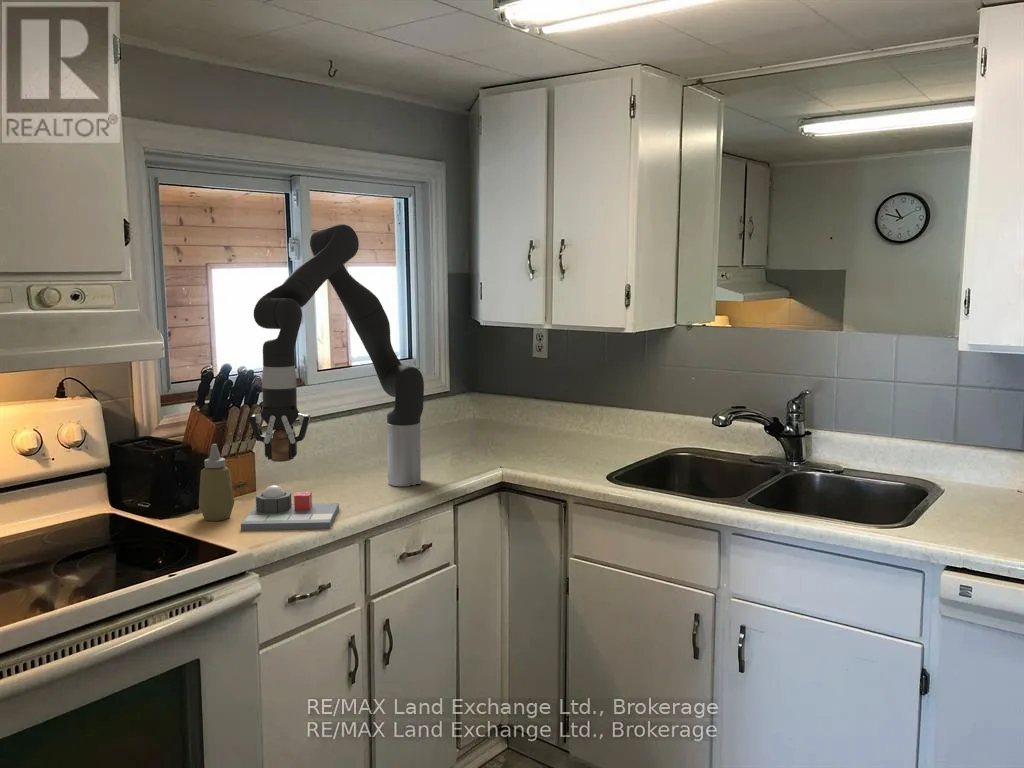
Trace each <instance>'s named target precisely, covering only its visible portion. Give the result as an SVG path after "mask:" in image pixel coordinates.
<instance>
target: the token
mask: <svg viewBox="0 0 1024 768" xmlns="http://www.w3.org/2000/svg"><path fill="white" fill-rule="evenodd" d="M289 444H290V440H289V437H288V435H287V433H286V430H282V429H277V430H274V433H273V436H272V438H271V462H275V463H279V462H280V463H282V462H289V461H291V460H292V459H290V451H289Z"/></svg>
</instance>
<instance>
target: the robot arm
mask: <svg viewBox="0 0 1024 768" xmlns="http://www.w3.org/2000/svg"><path fill="white" fill-rule="evenodd" d="M359 241H360V240H359V238H358V235H357V233H356V231H355V229H353V227H351V226H350V225H348V224H344V223H341V224H335V225H331V226H328V227H325V228H322V229H318V230H316V231H314V232H313V233H311V235H310V237H309V247H310V250H311V253H312V255H313V257H311V258H309V259H308V260H307V261H305V262H304V263H302V264H301V265H299V266H298V267H297V268H296V269H294V270H293V272H291V273H290V275H289V276H288V277H287V278H286V279H285V280H284V282H283V283H282V284H280V285H279V286H277V287H275V288H274V289H272V290H270V291H269V292H267V293H266V294H265V293H264V295H263V296H261V297H260V298H259V300H258V301H257V302H256V304H255V305H254V309H253V319H254V321H255V324H256V325H258V327H261V328H262V329H268V330H279V333H278V336H277V337H276V338H274V339H268V340H266V341H264V342H263V345H262V373H261V374H262V375H261V378H262V380H261V386H262V387H261V388H262V392H261V393H262V410H261V411H260V413H257V414H252V415H250V416H249V423H250V425H251V429H252V432H253V434H254V437H255V440H256V441H258V442H260V443H263V444H264V456H265V458H267V460H271V438H273V433H274V431H275V430H277V429H282V430H286V433H287V435H288V437H289V440H290V444H289V451H290V459H291V460H294V459H295V457H296V456H297V455H298V445H297V444H298V442H302V441H303V440H304V439H305V437H306V434H307V431H308V428H309V427H308V426H309V424H310V422H311V421H310V420H311V416H312V415H311V414H304V413H300V411H299V410H298V406H297V405H298V400H297V396H298V395H297V391H298V390H297V371H296V362H295V361H296V355H295V353H296V351H295V350H296V343H297V341H298V340H297V339H298V335H299V331H300V327H301V325H302V320H303V313H302V312H303V310H302V308H304V306H305V305H307V304H308V302H309V301H310V300H311V299H312V297H313V296H314V295H315V294H316V293H317V291H318V290H319V289H320V287H322V285H323V284H324V283H325V282H326V281H327V280H328V282H329V283H330V285H331V287H333V289H334V291H335V293H336V295H337V297H338V298H339V300H340V302H341V304H342V306H343V308H344V310H345V312H346V315H348V318H349V320H350V322H351V324H352V326H353V329H354V330H355V332H356V334H357V335H358V337H359V340H360V341H361V343H362V344H363V346H364V349H365V351H366V353H367V354H368V356H369V358H370V360H371V362H372V365H373V368H374V370H375V373H376V376H377V378H378V381H379V383H380V386H381V388H382V390H383V391H384V392H385V393H386V394H387V395H389V396H391V397H393V398H395V399H394V408H393V409H392V410H391V411H389V412H387V415H386V431H387V432H386V435H387V439H386V440H387V443H386V444H387V448H386V449H387V484H388V485H389V486H395V487H411V486H410V485H413V486H417V485H416V484H421V485H422V447H421V446H422V445H421V416H422V414H423V411H424V400H425V399H424V397H425V395H424V394H425V383H424V382H425V381H424V376H423V374H422V372H421V371H420V370H419V369H418V368H417V367H415V366H412V365H411V366H410V365H404V364H403V363H401V361H400V359H399V358H398V356H397V353H396V352H395V351H394V348H393V345H392V342H391V325H390V320H389V318H388V315H387V313H386V311H385V309H384V307H383V305H382V302H381V301H380V299H379V298H378V297H377V295H375V294H374V293H373V292H372V291H371V290H370V289H368V288H367V287H366V286H364V285H363V284H361V282H359V281H357V280H356V279H355V278H354V277H353V276H352V275H351V274H350V273H349V271H348V270H347V268H346V266H345V264H346V263H347V262H349V261H351V259H353V258H354V257H355V256H356V255H357V253H358V252H359V246H360V244H359V243H360V242H359ZM261 419H262V420H263V421H264V422H265V423H266V425H267V428H266V431H265V435H264V434H263V432H262V428H261V425H260V423H261V421H262V420H261ZM297 419H299V423H300V424H301V427H300V430H299V432H298V433H299V434H298V435H297V434H296V429H295V426H294V423H295V422H296V420H297Z"/></svg>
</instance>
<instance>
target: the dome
mask: <svg viewBox="0 0 1024 768" xmlns="http://www.w3.org/2000/svg"><path fill="white" fill-rule="evenodd" d="M284 491H285V490H284V489H283V488H282V487H281V486H280V485H276V484H273V485H269V486H267V487H266V488H264V491H263V492H264V493H263V497H264V498H278V497H282V496H284Z"/></svg>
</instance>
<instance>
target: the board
mask: <svg viewBox="0 0 1024 768" xmlns="http://www.w3.org/2000/svg"><path fill="white" fill-rule="evenodd" d="M283 491H284V496H282V497H278V498H264V497H263V493H264V491H262V492H258V493H257V494H256V496H255V506H254V507H253V508H252V510H251V511H250V513H249V514H247V516H246V517H245V518H244V519H243V520H242V521H241V523H240V531H267V530H268V531H271V530H272V531H274V530H321V529H322V530H325V529H326V530H327V529H331V526H332V525H333V523H334V521H335V519H336V516H337V514H338V512H339V510H340V504H339V502H337V503H336V502H333V503H331V502H328V503H325V502H324V503H323V502H322V503H320V502H319V503H312V507H311V509H310V510H295V509H294V503H292V492H291V491H287V490H283Z"/></svg>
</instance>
